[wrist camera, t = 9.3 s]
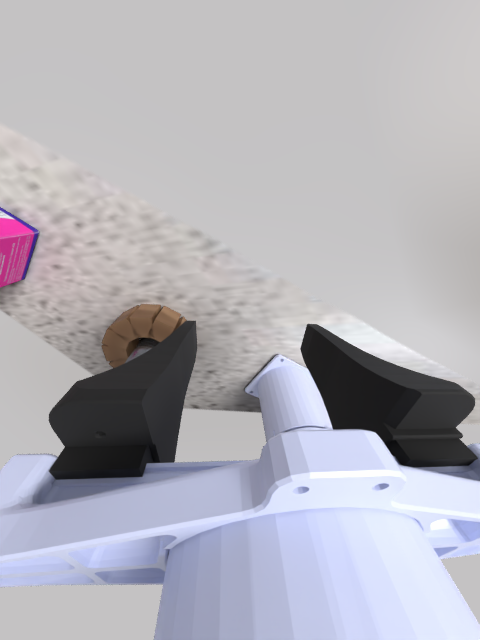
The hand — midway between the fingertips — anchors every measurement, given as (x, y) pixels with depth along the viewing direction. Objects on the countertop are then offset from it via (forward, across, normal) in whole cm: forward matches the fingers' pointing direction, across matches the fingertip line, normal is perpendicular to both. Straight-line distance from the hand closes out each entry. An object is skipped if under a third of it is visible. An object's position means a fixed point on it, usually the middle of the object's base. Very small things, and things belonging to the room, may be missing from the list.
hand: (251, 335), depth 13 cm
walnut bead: (+9, +10, +7) cm, 15 cm away
